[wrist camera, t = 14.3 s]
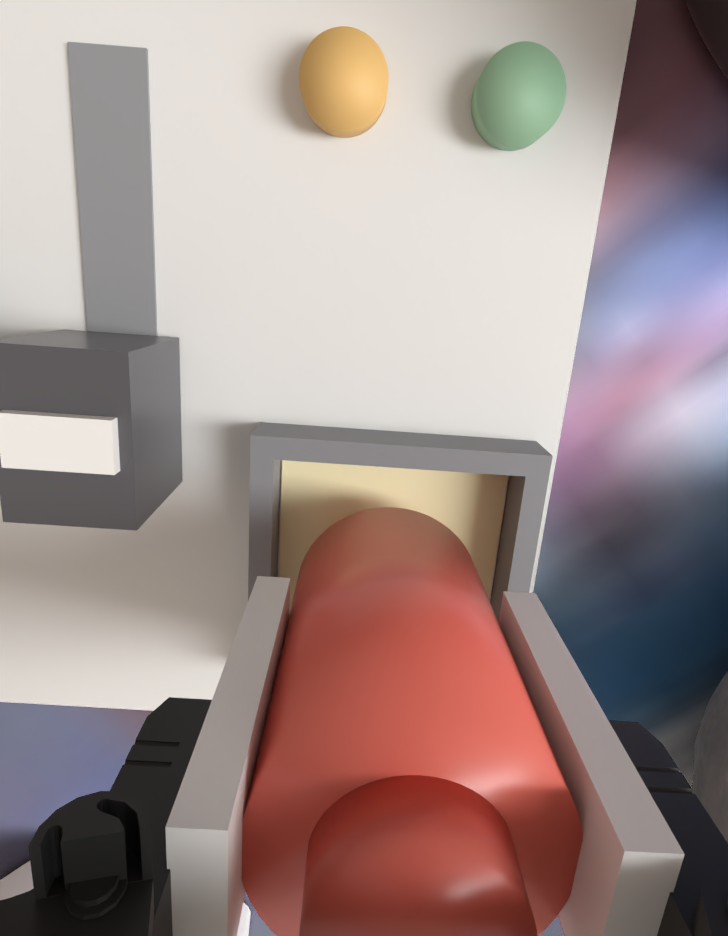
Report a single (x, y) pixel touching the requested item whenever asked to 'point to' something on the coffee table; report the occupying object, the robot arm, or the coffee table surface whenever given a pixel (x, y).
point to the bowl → (713, 758)
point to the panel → (296, 290)
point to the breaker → (88, 427)
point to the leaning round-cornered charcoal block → (712, 28)
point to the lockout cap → (403, 752)
